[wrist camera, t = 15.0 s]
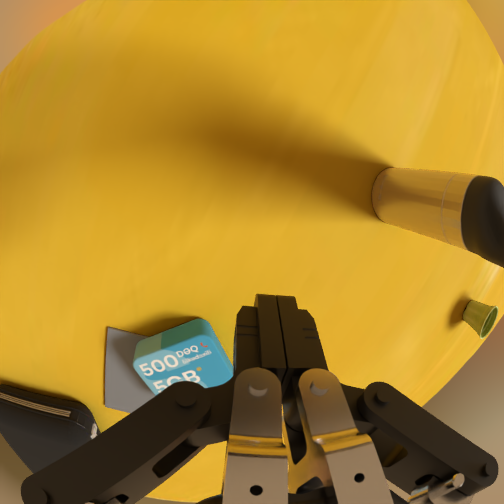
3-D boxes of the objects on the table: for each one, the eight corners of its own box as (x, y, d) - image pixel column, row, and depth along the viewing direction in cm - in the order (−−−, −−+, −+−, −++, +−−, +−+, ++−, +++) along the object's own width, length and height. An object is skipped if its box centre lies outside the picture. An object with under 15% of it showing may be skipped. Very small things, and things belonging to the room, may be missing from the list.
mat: (199, 347, 39) (200, 349, 38) (179, 420, 42) (179, 421, 42) (108, 326, 35) (107, 327, 34) (105, 405, 38) (105, 406, 38)
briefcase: (153, 483, 48) (155, 512, 39) (50, 465, 40) (45, 490, 31) (123, 400, 39) (117, 443, 30) (-7, 374, 31) (-25, 403, 22)
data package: (171, 414, 36) (127, 361, 31) (170, 395, 40) (132, 342, 36) (242, 390, 37) (208, 331, 33) (236, 371, 41) (205, 314, 37)
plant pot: (475, 313, 58) (495, 325, 50) (457, 331, 57) (478, 345, 49) (478, 288, 55) (500, 299, 47) (460, 306, 54) (483, 320, 46)
